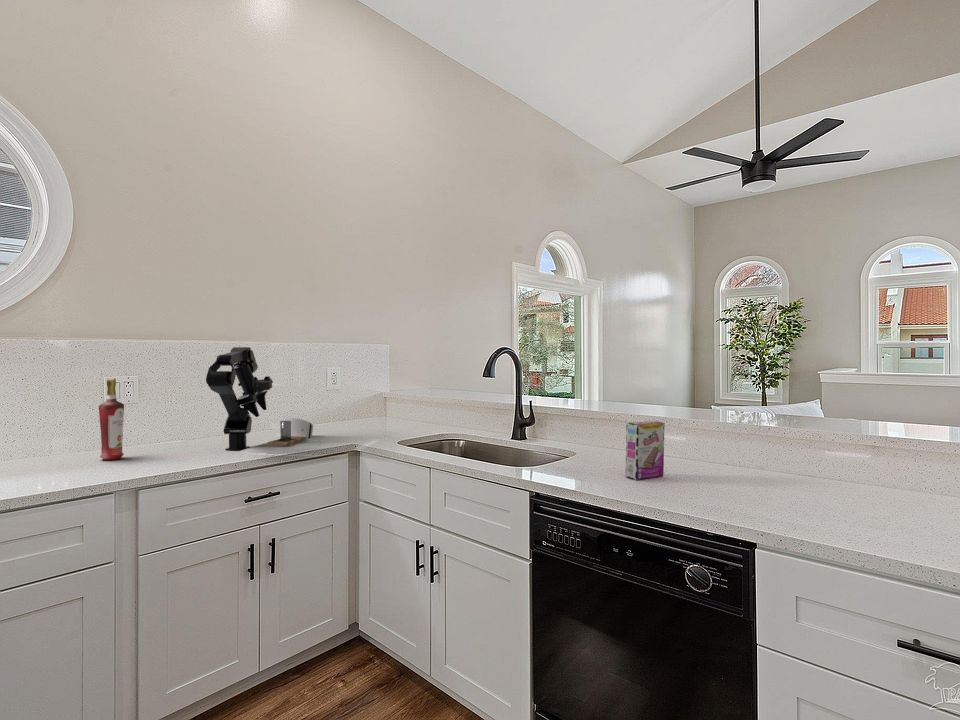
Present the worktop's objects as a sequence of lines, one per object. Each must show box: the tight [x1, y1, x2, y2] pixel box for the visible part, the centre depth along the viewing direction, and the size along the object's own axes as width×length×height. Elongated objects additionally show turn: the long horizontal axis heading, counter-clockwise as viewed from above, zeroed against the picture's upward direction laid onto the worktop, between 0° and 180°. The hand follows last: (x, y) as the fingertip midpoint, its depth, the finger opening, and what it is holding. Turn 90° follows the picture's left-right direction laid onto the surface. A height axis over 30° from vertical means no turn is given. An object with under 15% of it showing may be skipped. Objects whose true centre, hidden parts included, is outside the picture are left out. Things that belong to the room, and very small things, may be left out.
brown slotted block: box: [266, 436, 307, 448], centre depth 210 cm, size 16×8×3 cm, turn 171°
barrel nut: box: [279, 420, 291, 441], centre depth 209 cm, size 4×4×10 cm
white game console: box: [273, 418, 314, 440], centre depth 227 cm, size 17×5×10 cm, turn 67°
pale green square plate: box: [298, 441, 328, 447], centre depth 209 cm, size 8×8×1 cm
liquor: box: [98, 378, 125, 461], centre depth 184 cm, size 7×7×28 cm
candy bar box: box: [625, 420, 665, 481], centre depth 156 cm, size 11×5×16 cm, turn 118°
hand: (261, 413), depth 213 cm, fingers open, 9 cm apart
